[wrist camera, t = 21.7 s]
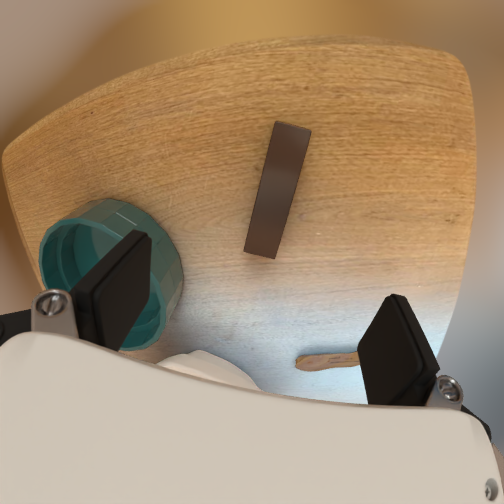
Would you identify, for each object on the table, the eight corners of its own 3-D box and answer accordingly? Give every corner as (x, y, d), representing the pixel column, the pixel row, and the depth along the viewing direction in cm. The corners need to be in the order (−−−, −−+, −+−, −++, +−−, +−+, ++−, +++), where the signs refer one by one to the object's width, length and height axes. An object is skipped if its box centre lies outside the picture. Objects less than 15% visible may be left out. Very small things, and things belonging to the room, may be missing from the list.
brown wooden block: (276, 120, 24) (275, 121, 21) (308, 128, 24) (312, 130, 21) (247, 236, 30) (243, 251, 26) (275, 243, 30) (274, 259, 26)
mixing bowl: (65, 186, 29) (30, 204, 23) (192, 215, 29) (171, 242, 23) (75, 296, 37) (52, 323, 31) (179, 332, 37) (164, 367, 31)
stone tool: (403, 341, 34) (296, 347, 35) (405, 351, 33) (296, 357, 34) (391, 358, 37) (294, 363, 39) (393, 367, 36) (294, 373, 38)
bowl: (185, 298, 34) (161, 347, 27) (308, 373, 38) (309, 422, 31) (130, 366, 43) (111, 405, 35) (228, 419, 47) (221, 457, 40)
